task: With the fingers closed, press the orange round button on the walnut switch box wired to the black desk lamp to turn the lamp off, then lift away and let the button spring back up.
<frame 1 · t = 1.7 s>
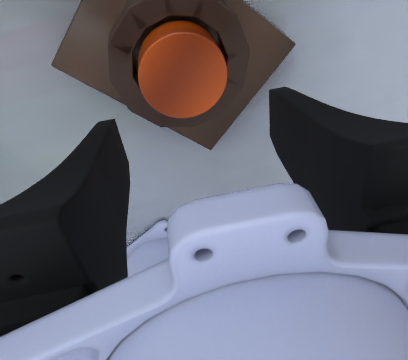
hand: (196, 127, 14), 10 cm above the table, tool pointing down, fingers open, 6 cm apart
lamp button: (181, 70, 18), point 5 cm above the table, slide at 0.1 cm
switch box: (174, 42, 22), on the table
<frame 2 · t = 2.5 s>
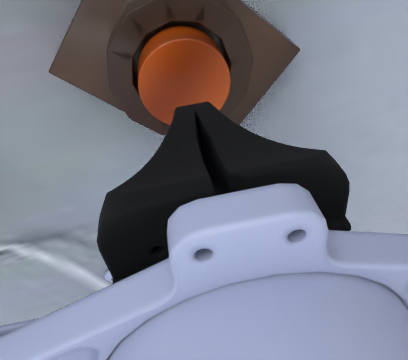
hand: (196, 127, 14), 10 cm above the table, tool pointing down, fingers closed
lamp button: (183, 77, 18), point 5 cm above the table, slide at 0.1 cm
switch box: (175, 47, 21), on the table
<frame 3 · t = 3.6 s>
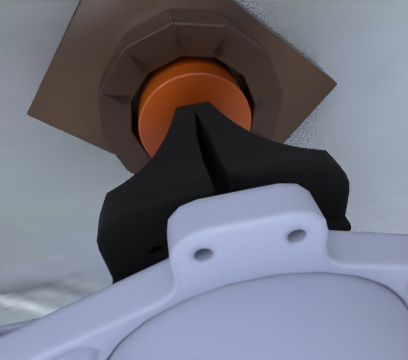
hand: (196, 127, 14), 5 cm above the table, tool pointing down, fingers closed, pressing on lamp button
lamp button: (192, 115, 15), point 4 cm above the table, slide at -0.7 cm, touching gripper
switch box: (183, 79, 18), on the table
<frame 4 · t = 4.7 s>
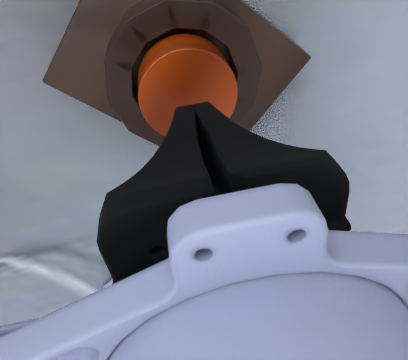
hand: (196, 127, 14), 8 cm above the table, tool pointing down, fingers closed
lamp button: (186, 89, 17), point 5 cm above the table, slide at 0.1 cm
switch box: (177, 54, 20), on the table
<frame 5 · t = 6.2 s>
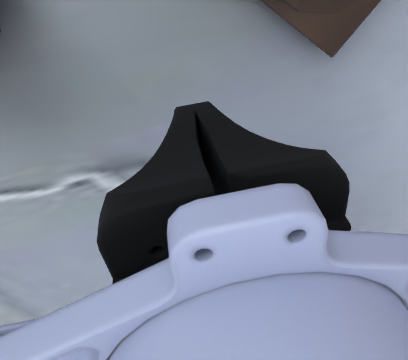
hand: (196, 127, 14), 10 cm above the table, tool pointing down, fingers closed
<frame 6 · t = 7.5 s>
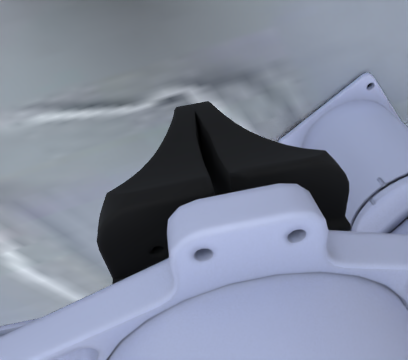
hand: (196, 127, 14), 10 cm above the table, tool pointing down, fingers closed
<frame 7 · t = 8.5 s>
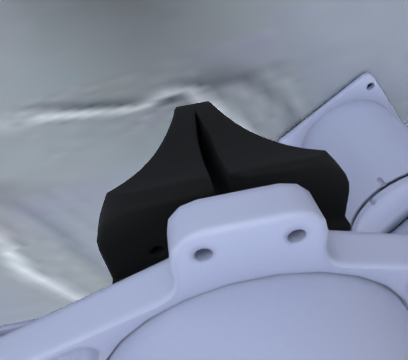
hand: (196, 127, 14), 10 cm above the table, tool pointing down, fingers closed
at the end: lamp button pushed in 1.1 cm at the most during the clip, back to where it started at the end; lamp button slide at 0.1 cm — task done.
